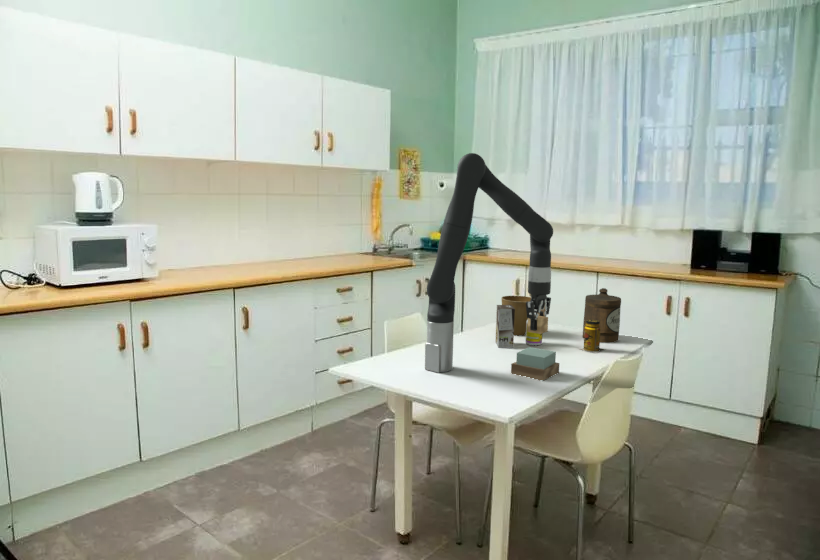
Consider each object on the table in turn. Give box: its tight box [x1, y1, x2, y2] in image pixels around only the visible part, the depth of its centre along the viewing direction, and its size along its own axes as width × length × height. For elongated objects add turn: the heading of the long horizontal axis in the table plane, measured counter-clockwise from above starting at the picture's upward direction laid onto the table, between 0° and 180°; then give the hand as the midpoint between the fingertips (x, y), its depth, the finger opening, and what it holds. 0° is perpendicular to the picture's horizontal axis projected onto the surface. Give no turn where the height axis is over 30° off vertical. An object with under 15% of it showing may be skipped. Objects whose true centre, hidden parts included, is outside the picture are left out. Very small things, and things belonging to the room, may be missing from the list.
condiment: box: [579, 320, 606, 354], centre depth 237 cm, size 7×8×12 cm
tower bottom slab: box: [510, 361, 560, 381], centre depth 206 cm, size 12×12×4 cm
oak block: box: [527, 316, 549, 335], centre depth 203 cm, size 5×5×5 cm
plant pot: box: [500, 295, 531, 337], centre depth 262 cm, size 15×15×16 cm
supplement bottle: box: [525, 313, 543, 346], centre depth 245 cm, size 7×7×13 cm
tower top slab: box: [515, 346, 557, 369], centre depth 205 cm, size 10×10×4 cm
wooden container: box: [582, 287, 622, 344], centre depth 255 cm, size 15×15×22 cm
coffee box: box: [495, 304, 515, 349], centre depth 242 cm, size 9×6×16 cm
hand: (537, 328), depth 204 cm, fingers closed on oak block, 5 cm apart
